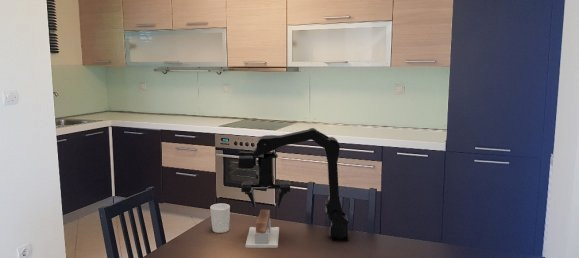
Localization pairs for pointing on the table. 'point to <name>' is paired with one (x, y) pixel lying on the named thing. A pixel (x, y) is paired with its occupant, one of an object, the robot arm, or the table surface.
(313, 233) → the table surface
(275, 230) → the display stand
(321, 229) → the table surface
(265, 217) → the terracotta bar
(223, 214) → the white cup
